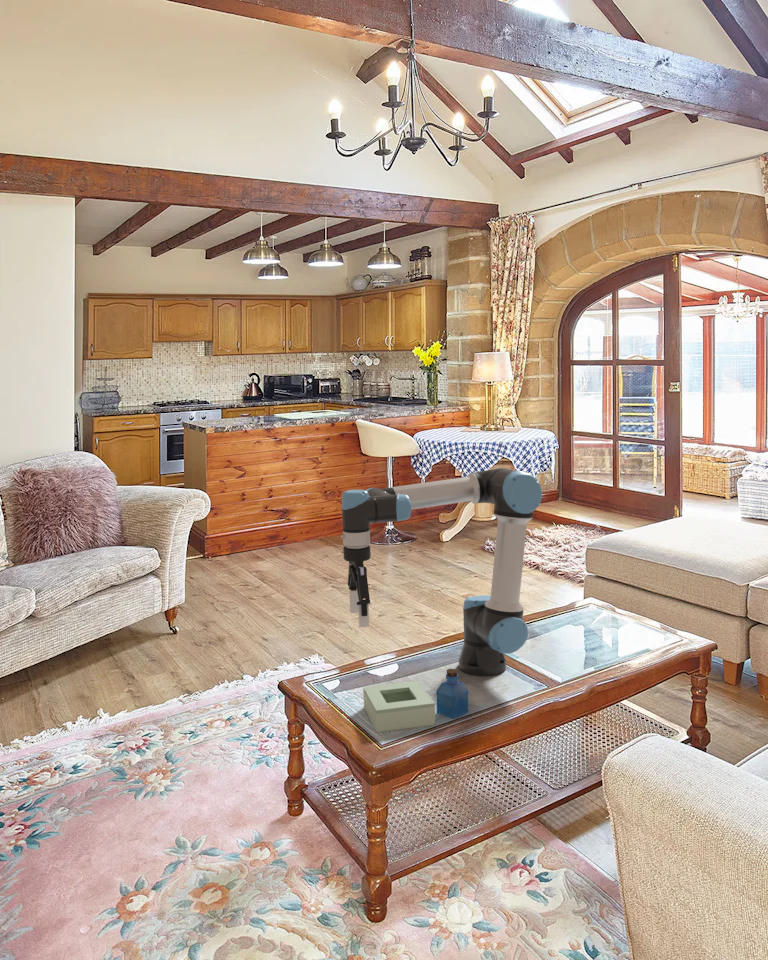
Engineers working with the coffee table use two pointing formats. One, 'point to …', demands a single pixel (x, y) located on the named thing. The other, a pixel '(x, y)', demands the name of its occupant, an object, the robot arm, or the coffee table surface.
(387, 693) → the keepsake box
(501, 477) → the robot arm
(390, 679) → the coffee table surface
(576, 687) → the coffee table surface
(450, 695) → the perfume bottle
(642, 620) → the coffee table surface
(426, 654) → the coffee table surface
